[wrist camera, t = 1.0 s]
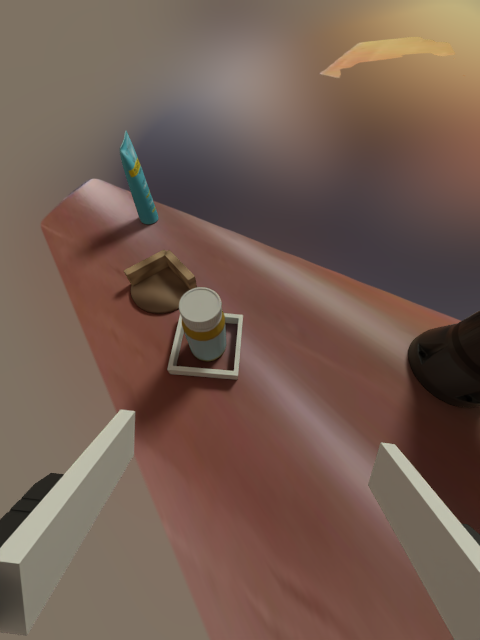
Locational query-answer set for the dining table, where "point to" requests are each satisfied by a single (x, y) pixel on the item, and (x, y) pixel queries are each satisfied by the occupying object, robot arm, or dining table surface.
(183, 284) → the v block
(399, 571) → the dining table surface
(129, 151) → the tube
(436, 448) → the dining table surface
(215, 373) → the grey frame
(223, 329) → the bottle
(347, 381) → the dining table surface
